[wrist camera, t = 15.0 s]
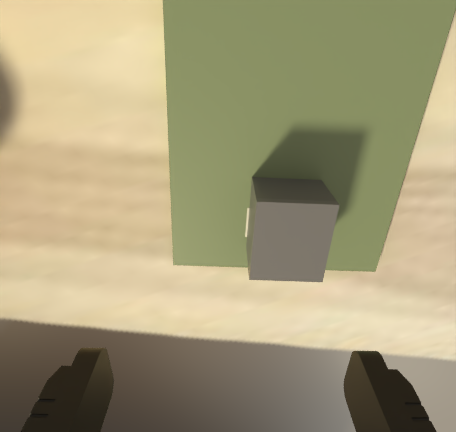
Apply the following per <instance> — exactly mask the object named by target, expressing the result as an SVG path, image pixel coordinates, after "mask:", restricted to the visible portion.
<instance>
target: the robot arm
mask: <svg viewBox="0 0 456 432" xmlns="http://www.w3.org/2000/svg"><path fill="white" fill-rule="evenodd" d="M113 384H114V379H113V373H112V369H111V365H110V360H109V356H108V352H107V349H106V348H81V349H80V350H79V351H78V353H77V355H76V357H75V359H74V361H73V363H72V366H61V367H60V368H59V369H58V370H57V371H56V372H55V373H54V374H53V375H52V376H51V377H50V378H49V380H48V381H47V382H46V384H45V386H44V388H43V390H42V392H41V394H40V396H39V397H38V401H37V402H36V403H35V405H34V407H33V409H32V411H31V413H30V417H29V418H28V419H27V421H26V422H25V424H24V426H23V429H22V430H21V432H101V429H102V425H103V422H104V419H105V416H106V413H107V410H108V406H109V403H110V400H111V397H112V393H113ZM344 393H345V398H346V402H347V405H348V408H349V411H350V414H351V417H352V420H353V423H354V426H355V429H356V432H436V430H435V428H434V426H433V424H432V422H431V421H429V417H428V415H427V413H426V411H425V409H424V407H423V406H422V405H421V402H420V400H419V398H418V396H417V394H416V392H415V390H414V388H413V386H412V385H411V384H410V383H409V382H408V381H407V379H405V377H404V376H403V375H402V374H401V373H400V372H399V371H398V370H393V369H388V368H387V366H386V364H385V362H384V360H383V358H382V356H381V354H380V353H379V352H377V351H353V352H352V355H351V358H350V362H349V365H348V368H347V372H346V375H345V379H344Z"/></svg>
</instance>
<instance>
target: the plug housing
mask: <svg viewBox="0 0 456 432" xmlns="http://www.w3.org/2000/svg"><path fill="white" fill-rule="evenodd" d="M338 209H339V204H338V202H337V201H336V199H335V198H334V197H333V195H332V194H331V192H330V191H329V190H328V188H327V187H326V185H325V184H324V182H323V181H322V180H311V179H286V178H262V177H252V182H251V194H250V206H249V218H248V230H247V242H246V250H247V261H248V271H249V280H274V281H303V282H323V277H324V273H325V268H326V264H327V259H328V255H329V250H330V246H331V241H332V237H333V232H334V227H335V223H336V218H337V214H338Z"/></svg>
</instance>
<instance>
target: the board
mask: <svg viewBox="0 0 456 432" xmlns="http://www.w3.org/2000/svg"><path fill="white" fill-rule="evenodd" d="M455 10H456V0H163V15H164V40H165V65H166V90H167V116H168V141H169V166H170V192H171V217H172V242H173V265H188V266H219V267H248V261H247V250H246V242H247V230H248V218H249V206H250V194H251V182H252V177H262V178H286V179H311V180H322V181H323V182H324V184H325V185H326V187H327V188H328V190H329V191H330V192H331V194H332V195H333V197H334V198H335V199H336V201H337V202H338V204H339V209H338V214H337V218H336V223H335V227H334V232H333V237H332V241H331V246H330V250H329V255H328V259H327V264H326V268H325V270H339V271H370V272H375V271H376V268H377V265H378V261H379V258H380V255H381V252H382V248H383V245H384V242H385V238H386V235H387V232H388V229H389V225H390V222H391V219H392V216H393V212H394V209H395V206H396V203H397V199H398V196H399V193H400V189H401V186H402V183H403V180H404V176H405V173H406V170H407V167H408V163H409V160H410V157H411V153H412V150H413V147H414V144H415V140H416V137H417V134H418V131H419V127H420V124H421V121H422V118H423V114H424V111H425V108H426V104H427V101H428V98H429V95H430V91H431V88H432V85H433V82H434V78H435V75H436V72H437V69H438V65H439V62H440V59H441V55H442V52H443V49H444V46H445V42H446V39H447V36H448V33H449V29H450V26H451V23H452V19H453V16H454V13H455Z"/></svg>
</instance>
